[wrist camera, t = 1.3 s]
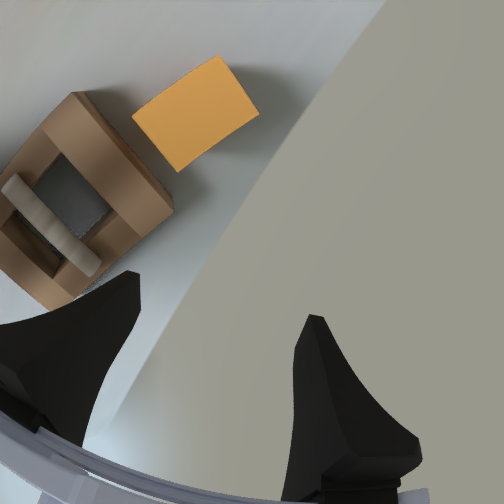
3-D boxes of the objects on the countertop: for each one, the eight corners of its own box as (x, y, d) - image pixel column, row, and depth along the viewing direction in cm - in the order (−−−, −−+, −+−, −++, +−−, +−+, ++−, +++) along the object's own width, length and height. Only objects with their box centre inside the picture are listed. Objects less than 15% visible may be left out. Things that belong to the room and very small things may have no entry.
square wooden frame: (-20, 216, 17) (-44, 242, 13) (82, 91, 16) (64, 92, 12) (62, 294, 23) (53, 329, 20) (171, 197, 22) (176, 221, 19)
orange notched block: (139, 109, 18) (131, 116, 13) (201, 64, 18) (219, 54, 13) (171, 149, 21) (177, 172, 15) (231, 106, 20) (259, 114, 15)
